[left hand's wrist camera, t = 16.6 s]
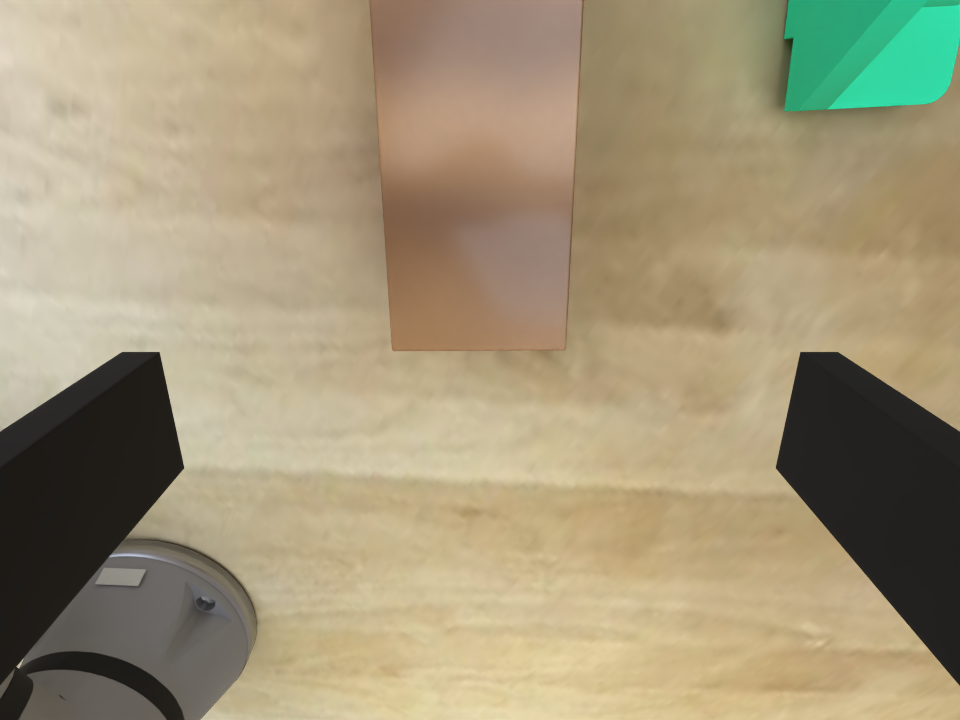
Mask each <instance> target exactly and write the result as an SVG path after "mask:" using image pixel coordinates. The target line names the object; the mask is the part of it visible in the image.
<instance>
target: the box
mask: <svg viewBox="0 0 960 720" xmlns="http://www.w3.org/2000/svg"><path fill="white" fill-rule="evenodd" d="M583 5H584V0H370V16H371V31H372V47H373V62H374V78H375V93H376V109H377V124H378V140H379V155H380V171H381V186H382V202H383V217H384V233H385V248H386V263H387V279H388V294H389V310H390V325H391V341H392V350H393V351H479V350H565V349H566V337H567V317H568V298H569V278H570V259H571V239H572V220H573V200H574V181H575V161H576V141H577V122H578V102H579V83H580V63H581V44H582V24H583Z"/></svg>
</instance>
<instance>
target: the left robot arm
mask: <svg viewBox="0 0 960 720" xmlns="http://www.w3.org/2000/svg"><path fill="white" fill-rule="evenodd" d="M183 469H184V465H183V460H182V455H181V451H180V446H179V441H178V437H177V432H176V427H175V422H174V418H173V413H172V408H171V404H170V399H169V394H168V390H167V385H166V380H165V376H164V371H163V366H162V362H161V357H160V352H122V353H120V354H118V355H117V356H115V357H114V358H112V359H111V360H109V361H108V362H106V363H105V364H103V365H102V366H100V367H99V368H97V369H96V370H94V371H92V372H91V373H89V374H88V375H86V376H85V377H83V378H82V379H80V380H79V381H77V382H76V383H74V384H73V385H71V386H69V387H68V388H66V389H65V390H63V391H62V392H60V393H59V394H57V395H56V396H54V397H53V398H51V399H50V400H48V401H47V402H45V403H43V404H42V405H40V406H39V407H37V408H36V409H34V410H33V411H31V412H30V413H28V414H27V415H25V416H24V417H22V418H21V419H19V420H17V421H16V422H14V423H13V424H11V425H10V426H8V427H7V428H5V429H4V430H2V431H1V432H0V720H200V719H201V718H202V717H203V716H204V715H205V714H206V713H207V712H208V711H209V710H210V708H211V707H212V706H213V705H214V704H215V703H216V702H217V701H218V700H219V698H220V697H221V696H222V695H223V694H224V693H225V692H226V691H227V690H228V688H229V687H230V686H231V685H232V684H233V683H234V682H235V681H236V680H237V678H238V677H239V676H240V674H241V673H242V671H243V669H244V667H245V665H246V662H247V660H248V658H249V655H250V653H251V651H252V648H253V646H254V643H255V639H256V631H257V625H256V617H255V613H254V610H253V607H252V604H251V602H250V600H249V598H248V596H247V595H246V593H245V591H244V590H243V589H242V587H241V586H240V585H239V584H238V582H237V581H236V580H235V579H234V578H233V577H232V576H231V575H230V574H229V573H228V572H227V571H225V570H224V569H223V568H222V567H220V566H219V565H218V564H216V563H215V562H213V561H212V560H210V559H208V558H207V557H205V556H203V555H201V554H199V553H197V552H195V551H192V550H190V549H187V548H184V547H181V546H178V545H175V544H171V543H167V542H161V541H154V540H125V541H123V540H124V539H125V537H126V536H127V535H128V534H129V533H130V532H131V530H132V529H133V528H134V527H135V526H136V524H137V523H138V522H139V521H140V520H141V519H142V517H143V516H144V515H145V514H146V513H147V511H148V510H149V509H150V508H151V507H152V506H153V504H154V503H155V502H156V501H157V500H158V498H159V497H160V496H161V495H162V494H163V493H164V491H165V490H166V489H167V488H168V487H169V485H170V484H171V483H172V482H173V481H174V480H175V478H176V477H177V476H178V475H179V474H180V472H181V471H182V470H183ZM776 469H777V470H778V471H779V472H780V474H781V475H782V476H783V477H784V478H785V480H786V481H787V482H788V483H789V484H790V485H791V487H792V488H793V489H794V490H795V491H796V493H797V494H798V495H799V496H800V497H801V498H802V500H803V501H804V502H805V503H806V504H807V506H808V507H809V508H810V509H811V510H812V511H813V513H814V514H815V515H816V516H817V517H818V519H819V520H820V521H821V522H822V523H823V524H824V526H825V527H826V528H827V529H828V530H829V532H830V533H831V534H832V535H833V536H834V537H835V539H836V540H837V541H838V542H839V543H840V545H841V546H842V547H843V548H844V549H845V550H846V552H847V553H848V554H849V555H850V556H851V558H852V559H853V560H854V561H855V562H856V563H857V565H858V566H859V567H860V568H861V569H862V571H863V572H864V573H865V574H866V575H867V576H868V578H869V579H870V580H871V581H872V582H873V584H874V585H875V586H876V587H877V588H878V589H879V591H880V592H881V593H882V594H883V595H884V597H885V598H886V599H887V600H888V601H889V602H890V604H891V605H892V606H893V607H894V608H895V610H896V611H897V612H898V613H899V614H900V616H901V617H902V618H903V619H904V620H905V621H906V623H907V624H908V625H909V626H910V627H911V629H912V630H913V631H914V632H915V633H916V634H917V636H918V637H919V638H920V639H921V640H922V642H923V643H924V644H925V645H926V646H927V647H928V649H929V650H930V651H931V652H932V653H933V655H934V656H935V657H936V658H937V659H938V660H939V662H940V663H941V664H942V665H943V666H944V668H945V669H946V670H947V671H948V672H949V673H950V675H951V676H952V677H953V678H954V679H955V681H956V682H957V683H958V684H959V685H960V432H959V431H958V430H956V429H955V428H953V427H952V426H950V425H949V424H947V423H946V422H944V421H943V420H941V419H939V418H938V417H936V416H935V415H933V414H932V413H930V412H929V411H927V410H926V409H924V408H923V407H921V406H920V405H918V404H917V403H915V402H913V401H912V400H910V399H909V398H907V397H906V396H904V395H903V394H901V393H900V392H898V391H897V390H895V389H894V388H892V387H891V386H889V385H887V384H886V383H884V382H883V381H881V380H880V379H878V378H877V377H875V376H874V375H872V374H871V373H869V372H868V371H866V370H864V369H863V368H861V367H860V366H858V365H857V364H855V363H854V362H852V361H851V360H849V359H848V358H846V357H845V356H843V355H842V354H840V353H838V352H800V357H799V362H798V366H797V371H796V376H795V380H794V385H793V390H792V394H791V399H790V404H789V408H788V413H787V418H786V422H785V427H784V432H783V437H782V441H781V446H780V451H779V455H778V460H777V465H776ZM23 658H24V660H23V662H22V665H21V666H20V667H19V668H17V667H16V666H17V665H18V664H19V663H20V662H21V660H22V659H23Z"/></svg>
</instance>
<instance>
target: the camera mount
mask: <svg viewBox="0 0 960 720" xmlns="http://www.w3.org/2000/svg"><path fill="white" fill-rule="evenodd" d="M784 39H793V46H792V54H791V62H790V70H789V78H788V85H787V93H786V101H785V109H784V111H806V110H825V109H843V108H862V107H880V106H898V105H917V104H929V103H932V102H934V101H936V100H938V99H939V98H940V97H941V96H942V95H943V94H944V93H945V92H946V90H947V89H948V87H949V85H950V82H951V78H952V74H953V69H954V65H955V60H956V55H957V51H958V46H959V42H960V0H789V2H788V10H787V18H786V27H785V35H784Z"/></svg>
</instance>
